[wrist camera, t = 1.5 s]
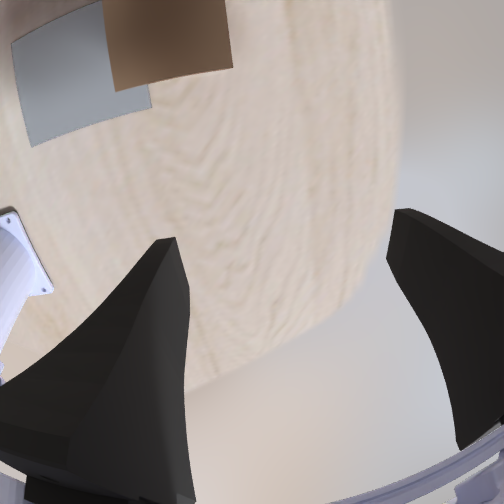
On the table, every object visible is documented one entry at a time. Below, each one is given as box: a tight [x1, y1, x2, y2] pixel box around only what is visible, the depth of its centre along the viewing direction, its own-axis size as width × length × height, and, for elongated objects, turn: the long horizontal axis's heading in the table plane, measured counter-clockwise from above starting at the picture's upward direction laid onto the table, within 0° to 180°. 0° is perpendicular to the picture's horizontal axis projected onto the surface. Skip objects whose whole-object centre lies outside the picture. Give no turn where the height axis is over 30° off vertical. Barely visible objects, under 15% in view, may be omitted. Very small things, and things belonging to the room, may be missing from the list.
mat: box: [11, 0, 152, 148], centre depth 13 cm, size 9×8×1 cm
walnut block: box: [102, 0, 233, 92], centre depth 10 cm, size 4×5×8 cm
